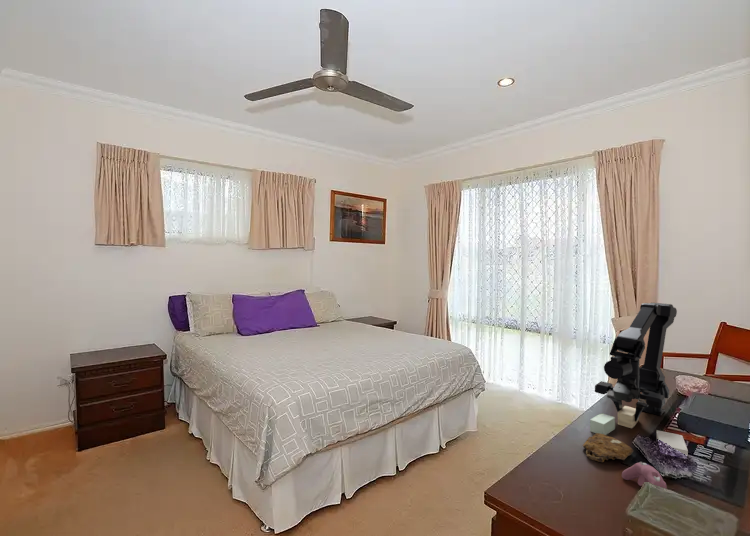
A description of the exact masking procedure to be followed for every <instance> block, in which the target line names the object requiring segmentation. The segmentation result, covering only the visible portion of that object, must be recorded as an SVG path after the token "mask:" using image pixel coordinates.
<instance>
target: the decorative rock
mask: <svg viewBox="0 0 750 536" xmlns="http://www.w3.org/2000/svg"><path fill="white" fill-rule="evenodd" d="M582 447H583V448H584V449H586V451H585V456H586V457H588V459H590V460H592V461H594V462H598V463H604V462H605V460H606V461H609V460H613V461H615V460H622V461H625V460H626V459H627V458H628V457H629V456H631V455H632V454H633V453H634V449H633V448H632V447H631V446H630V445H628V444H627V443H625V442H624V441H621V440H619V439H617V438H615V437H613V436H608V434H607V435H605V434H600V433H595V434H593V435H592V436H589V437H588V438H587V439H586V441H584V442H583V444H582Z"/></svg>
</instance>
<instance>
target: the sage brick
mask: <svg viewBox="0 0 750 536" xmlns="http://www.w3.org/2000/svg"><path fill="white" fill-rule="evenodd" d="M589 420H590V421H589V423H590V425H589V427H590V429H589V431H590V432H591V433H593V434H594V433H595V434H596V433H600V434H605V435H607V436H608V434H609V433H611V432H612V431H614V430H615V429H616V417H615V416H612V415H609V414H606V413H599V414H597V415H596V416H594V417H592V418H590V419H589Z"/></svg>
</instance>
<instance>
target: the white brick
mask: <svg viewBox="0 0 750 536" xmlns="http://www.w3.org/2000/svg"><path fill="white" fill-rule="evenodd" d="M657 439H658V440H661V441H663V442H664V443H667V444H668V445H670V446H671V447H672V448H674V449H676V450H678V451H680V452H681V453H683V454H685V455H687V456H688V457H689V454H688V453H689V450H688V448H687V447H688V446H687V444H686V441H685V440H684V436H683V435H681V434H678V433H672V432H668V431H667V432H666V431H662V430H658V429H656V440H657Z"/></svg>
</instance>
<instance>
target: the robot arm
mask: <svg viewBox="0 0 750 536" xmlns="http://www.w3.org/2000/svg"><path fill="white" fill-rule="evenodd" d="M677 312H678V310H677V308H676V307H674V305H673V304H671V303H659V302H642V303H641V305H640V308H639V311H638V313H637V314H636V316H635V317H634V319H633V321H632V322H631V324H630V325H629V327H628V328H627V329H624V330H622V331H620V333H619V334H618V335H616V337H615V339H614V341H613V344H612V346H611V350H610V352H609V356H610V360H608V361H606V362H605V363H604V365H603V370H604V373H605V374H606V375H607V377H609V378H610V379H613V380H614V379H615V380H616V383H615V385H614V386H613V383H611V382H606V381H601V380H600V381H599V382H598V383H596V384H595V386H594V392H595V393H596V394H600V395H606V394H607V395H606V397H607V398H608V399H610V400H612V403H613V404H614V407H615V409H616V411H617V413H618V412H619V411H620V410H621V409H622V408H623V401H624V402H626V403H631V402H633V401H632V400H637V401H636V403H635V409H636V412H635V422H636V421H637V420H638V418H640V415H641V414H642V412H645V413H647V414H653V415H655V416H656V415H657V416H662V415H663V413H665V412H666V410H665V409H666V408H665V409H664V408H663V407H664V406H665V405H666V399H670V397H669V395H670V388H669V387H668V385H667V384H666V381H665V380H666V377H665V375H664V373H663V370H662V369H661V368H662V367H661V366H662V360H663V353H664V348H665V339H666V334H667V329H668V328H669V327H670V326H672V325H673V324H674V321H675V318H676V317H677V314H678V313H677ZM648 331H649V332H648ZM647 333H648V338H647V344H646V343H645V340H644V338H645V336H646V335H647ZM644 352H645V357H644V360H643V361H644V363H643V365H642V366H640V360H641V359H642V356H643V353H644Z"/></svg>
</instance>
